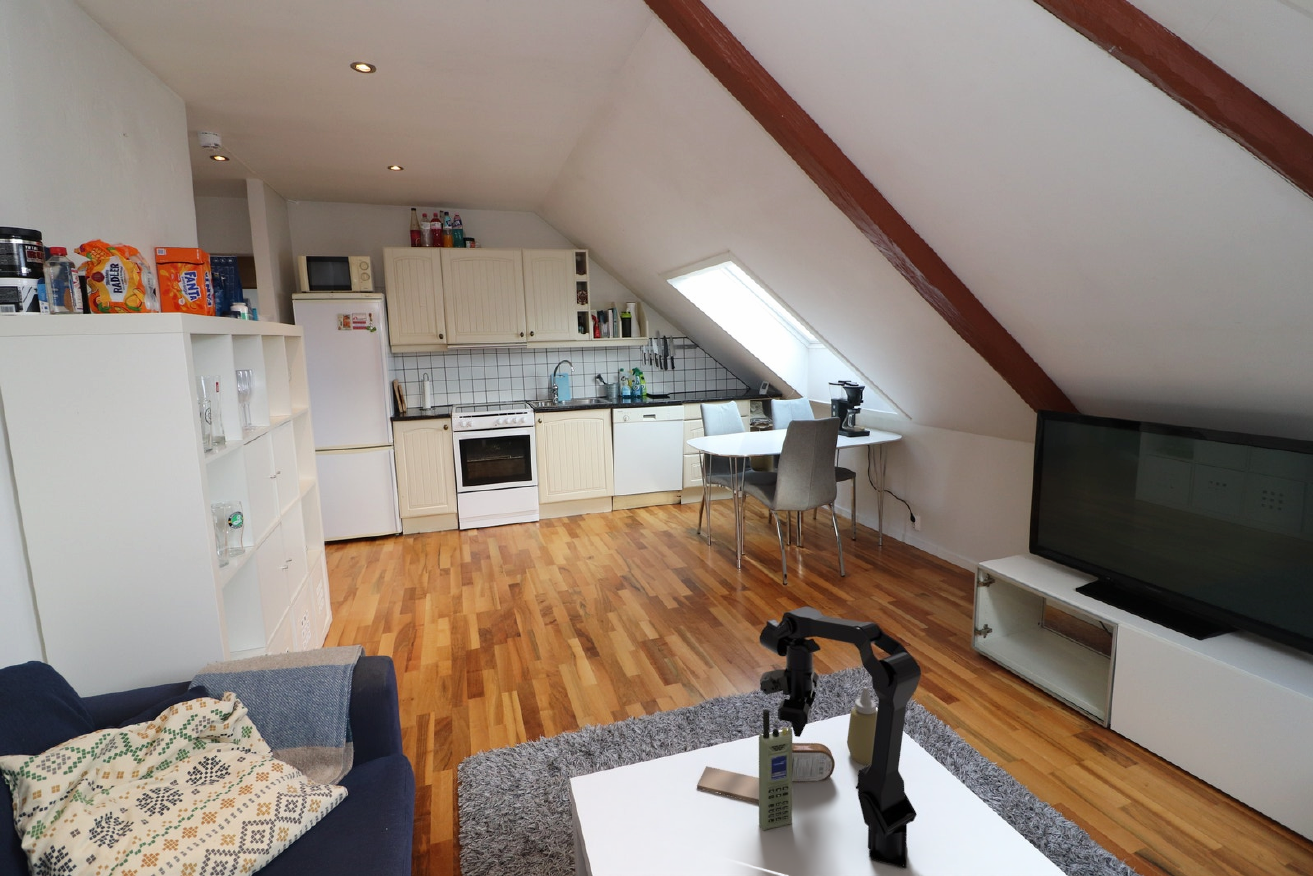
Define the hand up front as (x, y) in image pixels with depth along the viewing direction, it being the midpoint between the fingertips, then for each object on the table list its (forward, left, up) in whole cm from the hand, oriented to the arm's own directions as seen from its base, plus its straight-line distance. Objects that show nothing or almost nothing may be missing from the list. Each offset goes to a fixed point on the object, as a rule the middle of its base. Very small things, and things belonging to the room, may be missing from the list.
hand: (798, 731), depth 141 cm
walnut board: (+13, +7, -12) cm, 19 cm away
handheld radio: (+2, +15, -12) cm, 20 cm away
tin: (0, 0, -12) cm, 12 cm away
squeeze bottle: (-13, -13, -12) cm, 22 cm away
